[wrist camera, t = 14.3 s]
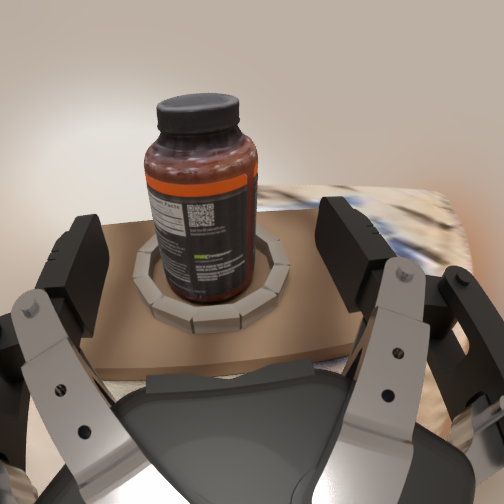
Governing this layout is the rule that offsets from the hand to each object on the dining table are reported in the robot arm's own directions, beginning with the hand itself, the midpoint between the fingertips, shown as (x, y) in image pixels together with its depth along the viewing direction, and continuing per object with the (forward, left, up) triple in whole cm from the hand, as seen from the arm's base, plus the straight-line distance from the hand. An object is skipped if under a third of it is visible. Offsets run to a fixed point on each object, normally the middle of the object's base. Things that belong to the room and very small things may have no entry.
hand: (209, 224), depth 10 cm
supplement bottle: (0, +6, -8) cm, 10 cm away
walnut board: (0, +6, -9) cm, 11 cm away
